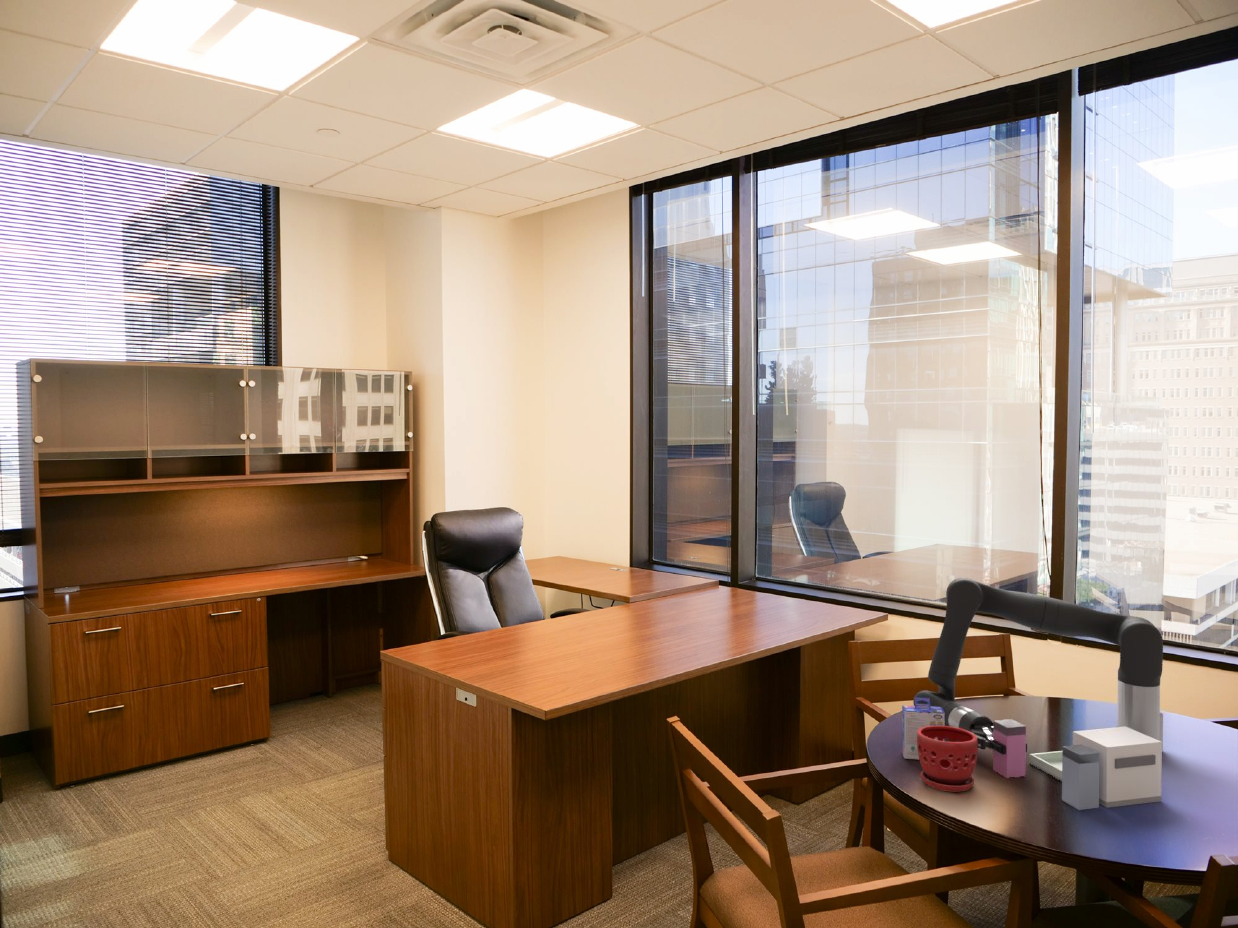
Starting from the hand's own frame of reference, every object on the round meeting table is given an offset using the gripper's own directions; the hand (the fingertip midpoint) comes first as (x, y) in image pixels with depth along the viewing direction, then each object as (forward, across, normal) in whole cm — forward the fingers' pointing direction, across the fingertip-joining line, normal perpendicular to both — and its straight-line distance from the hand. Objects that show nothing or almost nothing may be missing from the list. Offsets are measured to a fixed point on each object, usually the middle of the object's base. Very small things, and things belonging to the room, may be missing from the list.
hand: (1015, 749), depth 197 cm
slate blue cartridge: (+16, +4, +6) cm, 18 cm away
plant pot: (0, -18, +7) cm, 19 cm away
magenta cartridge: (-2, 0, +6) cm, 7 cm away
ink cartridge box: (-16, -14, +7) cm, 22 cm away
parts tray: (0, +14, +6) cm, 15 cm away
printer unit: (+14, +15, +6) cm, 21 cm away
